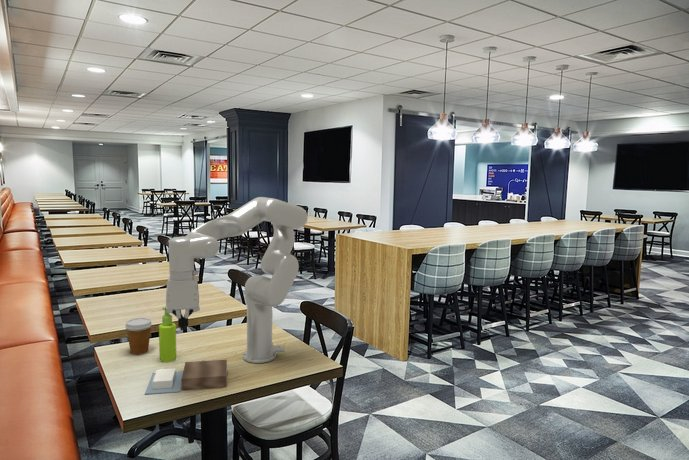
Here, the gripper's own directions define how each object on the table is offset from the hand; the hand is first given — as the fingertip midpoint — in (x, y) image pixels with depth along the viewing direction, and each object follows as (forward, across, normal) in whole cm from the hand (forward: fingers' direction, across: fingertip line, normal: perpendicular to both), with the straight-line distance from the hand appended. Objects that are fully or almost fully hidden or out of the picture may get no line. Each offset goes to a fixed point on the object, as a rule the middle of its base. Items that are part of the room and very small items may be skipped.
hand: (183, 328), depth 157 cm
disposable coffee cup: (+19, +19, -28) cm, 39 cm away
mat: (+18, +6, 0) cm, 19 cm away
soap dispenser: (+19, +7, -19) cm, 28 cm away
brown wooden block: (+18, -7, 0) cm, 20 cm away
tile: (+16, +6, 0) cm, 17 cm away
